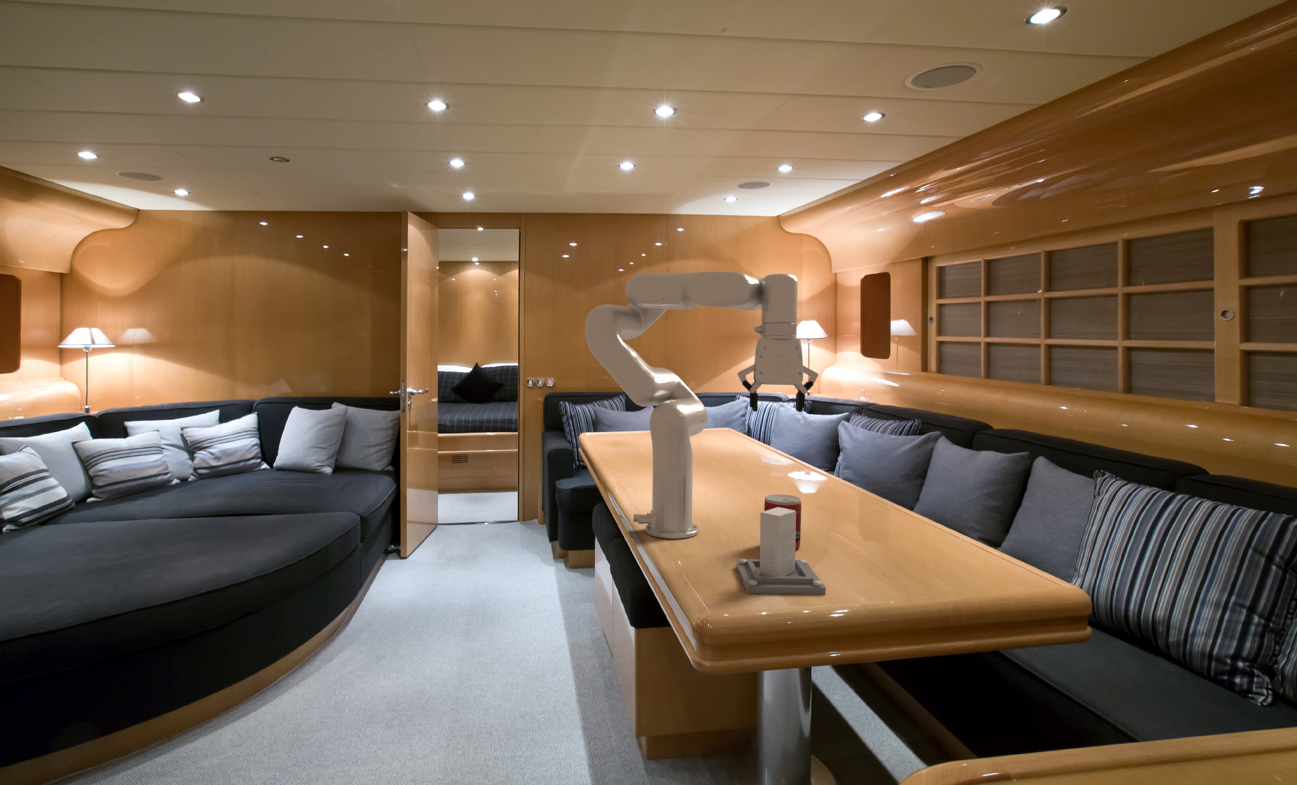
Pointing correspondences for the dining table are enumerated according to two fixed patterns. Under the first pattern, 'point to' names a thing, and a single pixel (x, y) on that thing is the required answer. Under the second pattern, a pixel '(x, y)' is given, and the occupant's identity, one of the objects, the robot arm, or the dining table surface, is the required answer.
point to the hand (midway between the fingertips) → (776, 411)
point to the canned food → (786, 503)
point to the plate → (779, 579)
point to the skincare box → (777, 542)
